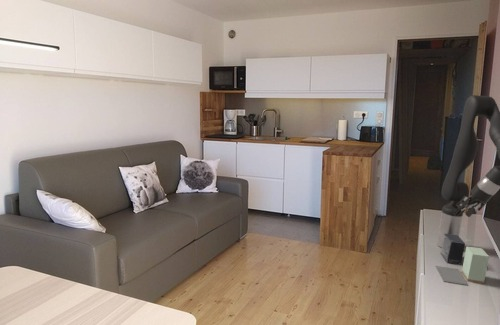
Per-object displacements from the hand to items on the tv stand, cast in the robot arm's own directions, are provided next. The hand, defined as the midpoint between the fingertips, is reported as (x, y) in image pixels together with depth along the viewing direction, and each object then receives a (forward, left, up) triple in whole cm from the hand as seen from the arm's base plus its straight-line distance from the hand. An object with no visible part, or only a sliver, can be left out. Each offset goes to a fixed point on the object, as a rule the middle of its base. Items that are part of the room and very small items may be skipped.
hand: (460, 215), depth 168 cm
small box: (-5, +1, -23) cm, 24 cm away
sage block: (+12, +5, -23) cm, 26 cm away
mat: (+13, -4, -23) cm, 27 cm away
